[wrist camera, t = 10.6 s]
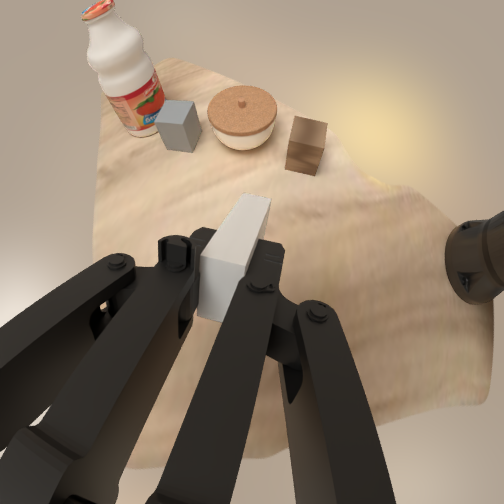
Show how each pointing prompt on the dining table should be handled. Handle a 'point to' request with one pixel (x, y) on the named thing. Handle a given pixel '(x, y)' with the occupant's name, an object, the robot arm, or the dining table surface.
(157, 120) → the grey block
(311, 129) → the walnut block
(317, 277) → the dining table surface
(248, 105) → the lidded jar
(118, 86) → the fruit juice
